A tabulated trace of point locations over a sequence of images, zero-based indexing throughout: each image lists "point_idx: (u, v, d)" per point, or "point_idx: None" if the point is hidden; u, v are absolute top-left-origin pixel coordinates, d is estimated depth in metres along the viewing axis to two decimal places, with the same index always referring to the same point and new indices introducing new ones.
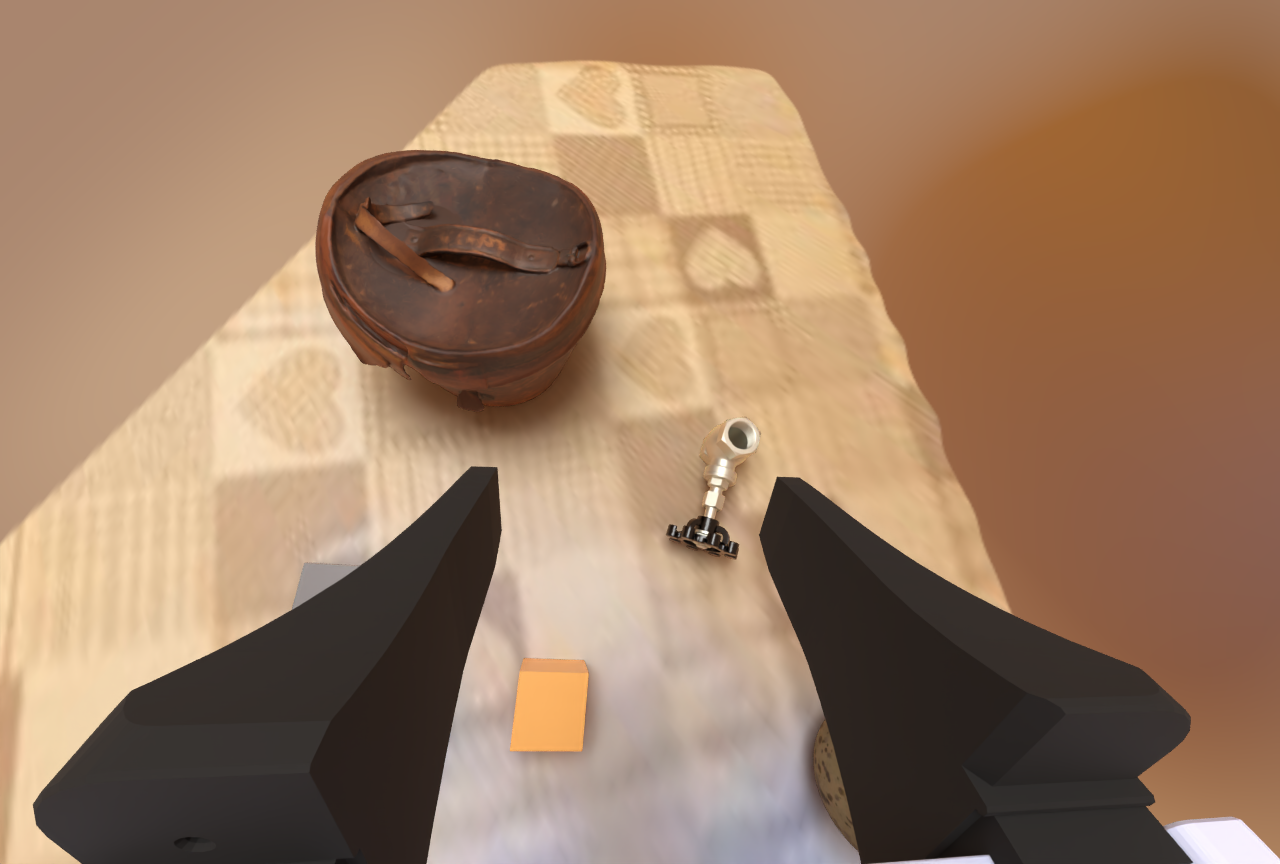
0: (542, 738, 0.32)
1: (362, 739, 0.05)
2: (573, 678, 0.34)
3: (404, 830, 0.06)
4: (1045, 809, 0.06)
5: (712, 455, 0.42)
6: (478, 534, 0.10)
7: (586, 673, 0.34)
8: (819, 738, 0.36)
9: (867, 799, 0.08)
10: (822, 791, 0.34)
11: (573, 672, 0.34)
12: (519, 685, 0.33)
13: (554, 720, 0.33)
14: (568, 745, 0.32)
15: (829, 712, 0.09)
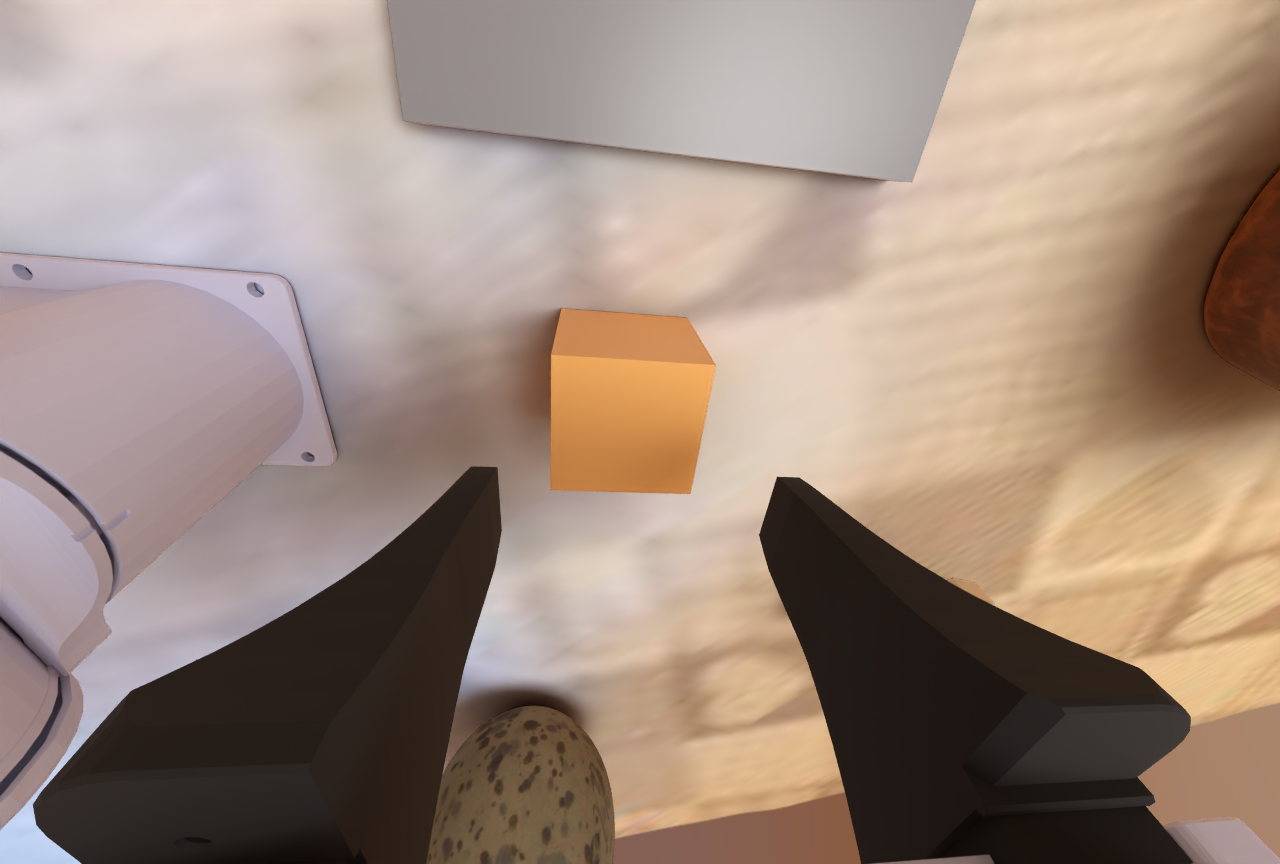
0: (575, 419, 0.15)
1: (362, 739, 0.05)
2: (684, 468, 0.16)
3: (404, 830, 0.06)
4: (1045, 809, 0.06)
5: None
6: (478, 534, 0.10)
7: (689, 489, 0.17)
8: (561, 744, 0.26)
9: (867, 798, 0.08)
10: (501, 762, 0.25)
11: None
12: (685, 366, 0.14)
13: (608, 439, 0.15)
14: (561, 467, 0.15)
15: (829, 711, 0.09)
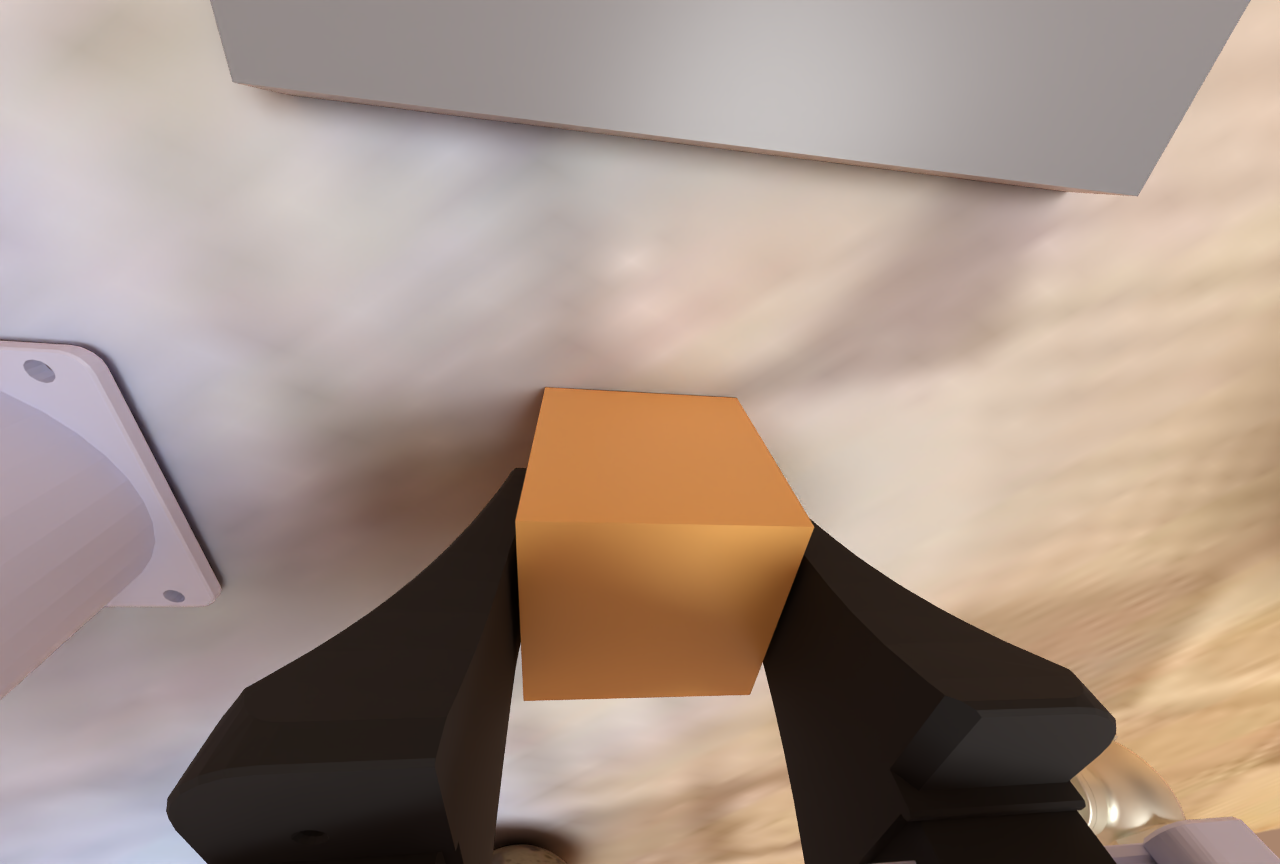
0: (562, 611, 0.08)
1: (462, 735, 0.05)
2: (743, 665, 0.10)
3: (481, 825, 0.06)
4: (971, 813, 0.06)
5: (1112, 786, 0.19)
6: None
7: (748, 687, 0.10)
8: None
9: (811, 802, 0.08)
10: None
11: None
12: (760, 529, 0.08)
13: (620, 635, 0.09)
14: (540, 672, 0.09)
15: (780, 713, 0.09)
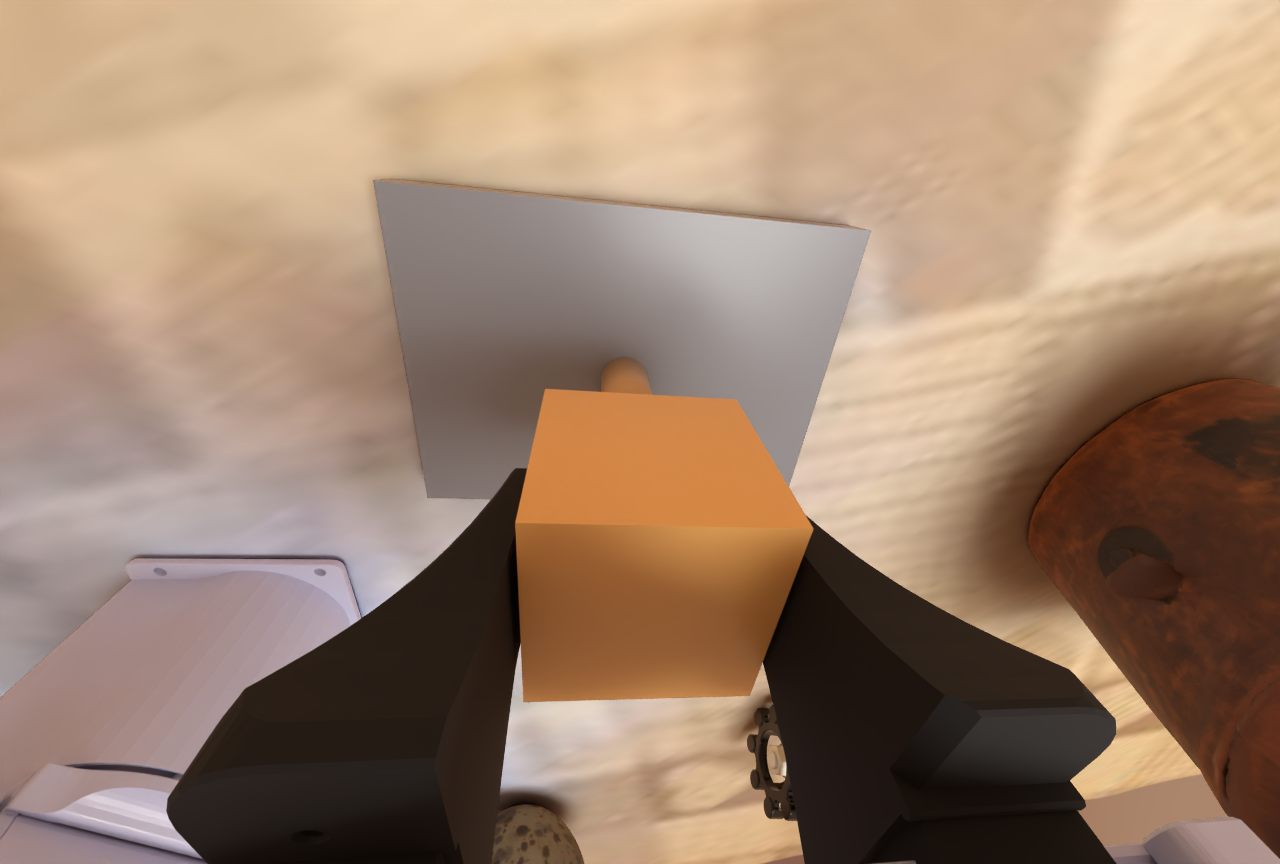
0: (562, 612, 0.08)
1: (462, 735, 0.05)
2: (743, 666, 0.10)
3: (481, 825, 0.06)
4: (971, 813, 0.06)
5: None
6: None
7: (748, 688, 0.10)
8: (546, 848, 0.33)
9: (812, 801, 0.08)
10: None
11: None
12: (760, 531, 0.08)
13: (620, 636, 0.09)
14: (539, 673, 0.09)
15: (780, 713, 0.09)
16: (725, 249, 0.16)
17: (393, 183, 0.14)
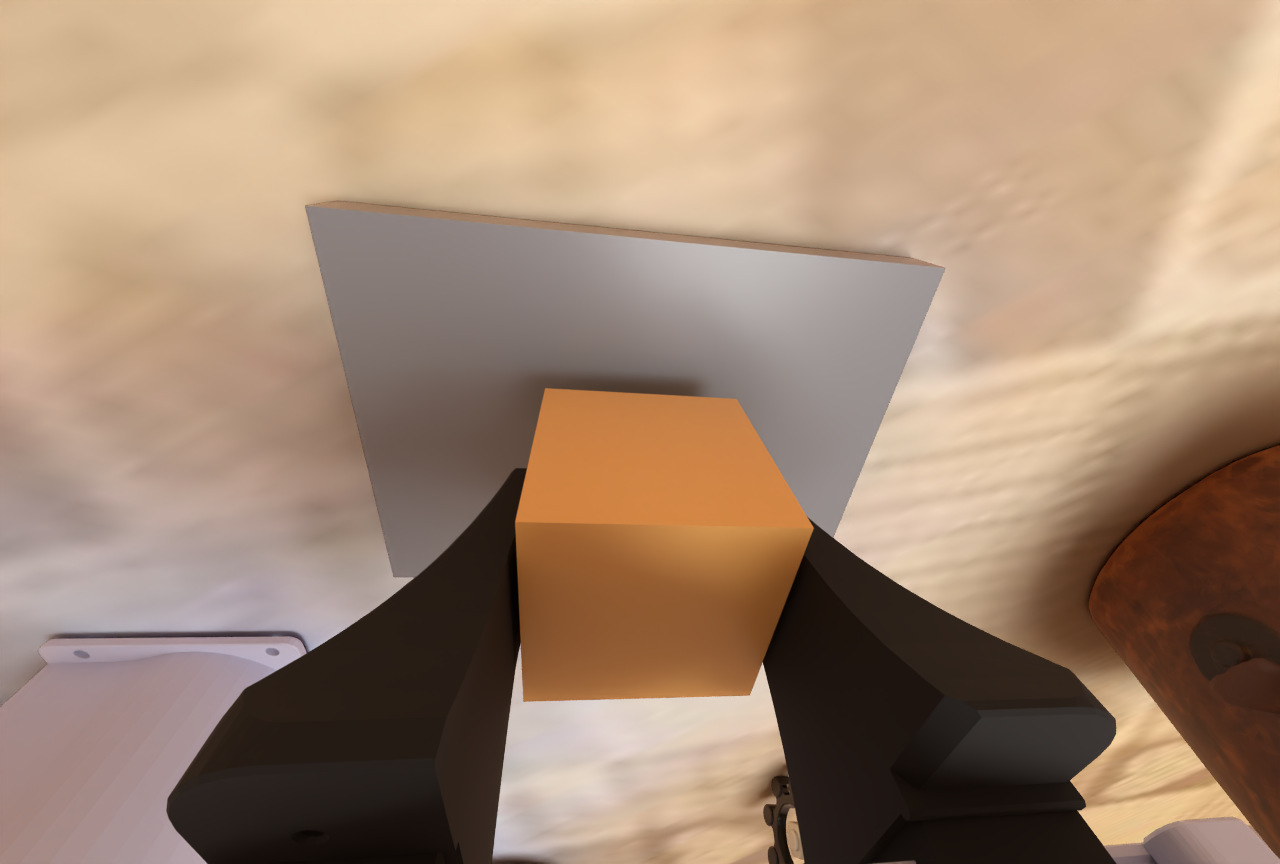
0: (562, 612, 0.08)
1: (462, 735, 0.05)
2: (743, 666, 0.10)
3: (481, 825, 0.06)
4: (971, 814, 0.06)
5: None
6: None
7: (748, 687, 0.10)
8: None
9: (811, 801, 0.08)
10: None
11: None
12: (760, 530, 0.08)
13: (620, 635, 0.09)
14: (539, 673, 0.09)
15: (780, 713, 0.09)
16: (761, 291, 0.12)
17: (331, 209, 0.10)
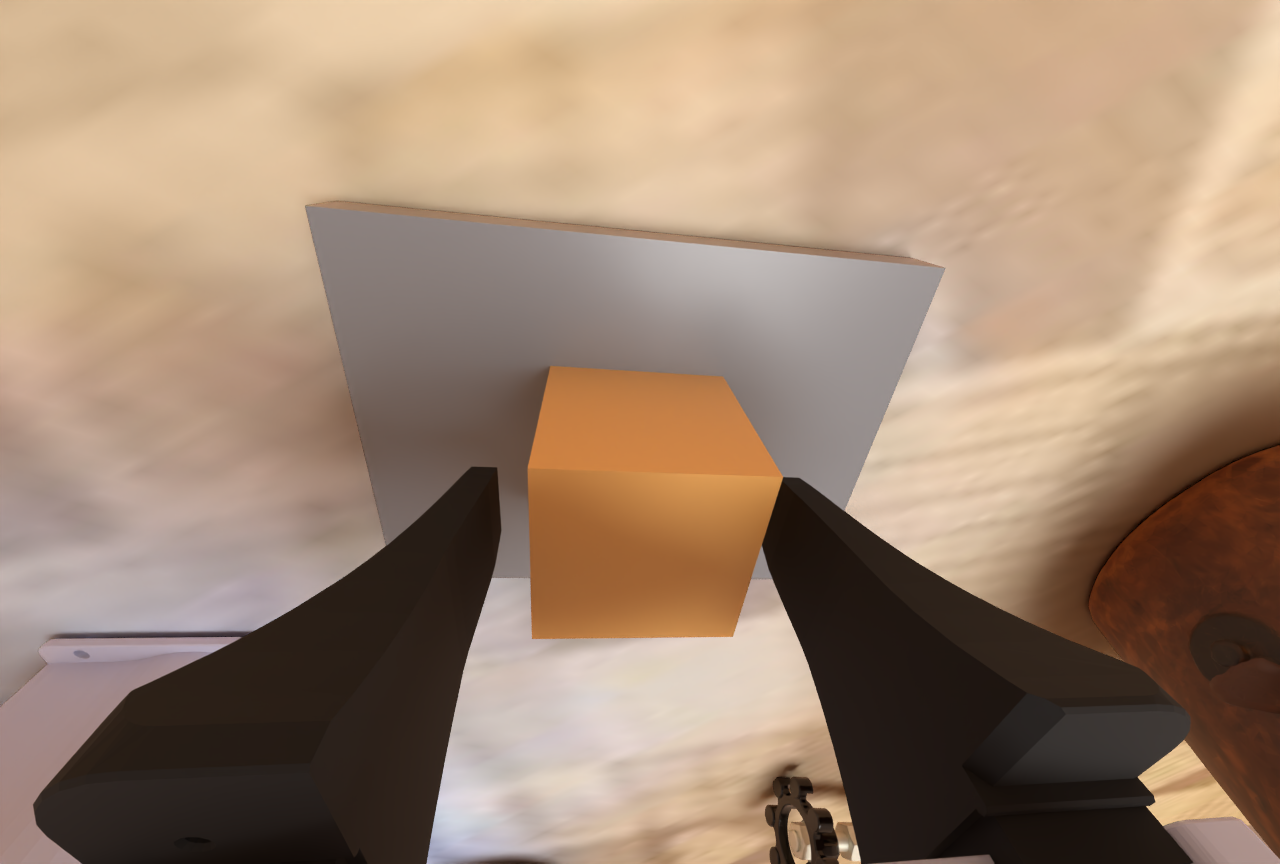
0: (567, 552, 0.10)
1: (362, 739, 0.05)
2: (726, 607, 0.11)
3: (404, 830, 0.06)
4: (1045, 809, 0.06)
5: None
6: (478, 534, 0.10)
7: (731, 629, 0.12)
8: None
9: (868, 798, 0.08)
10: None
11: None
12: (737, 479, 0.09)
13: (617, 576, 0.10)
14: (546, 610, 0.11)
15: (829, 711, 0.09)
16: (761, 291, 0.12)
17: (331, 209, 0.10)
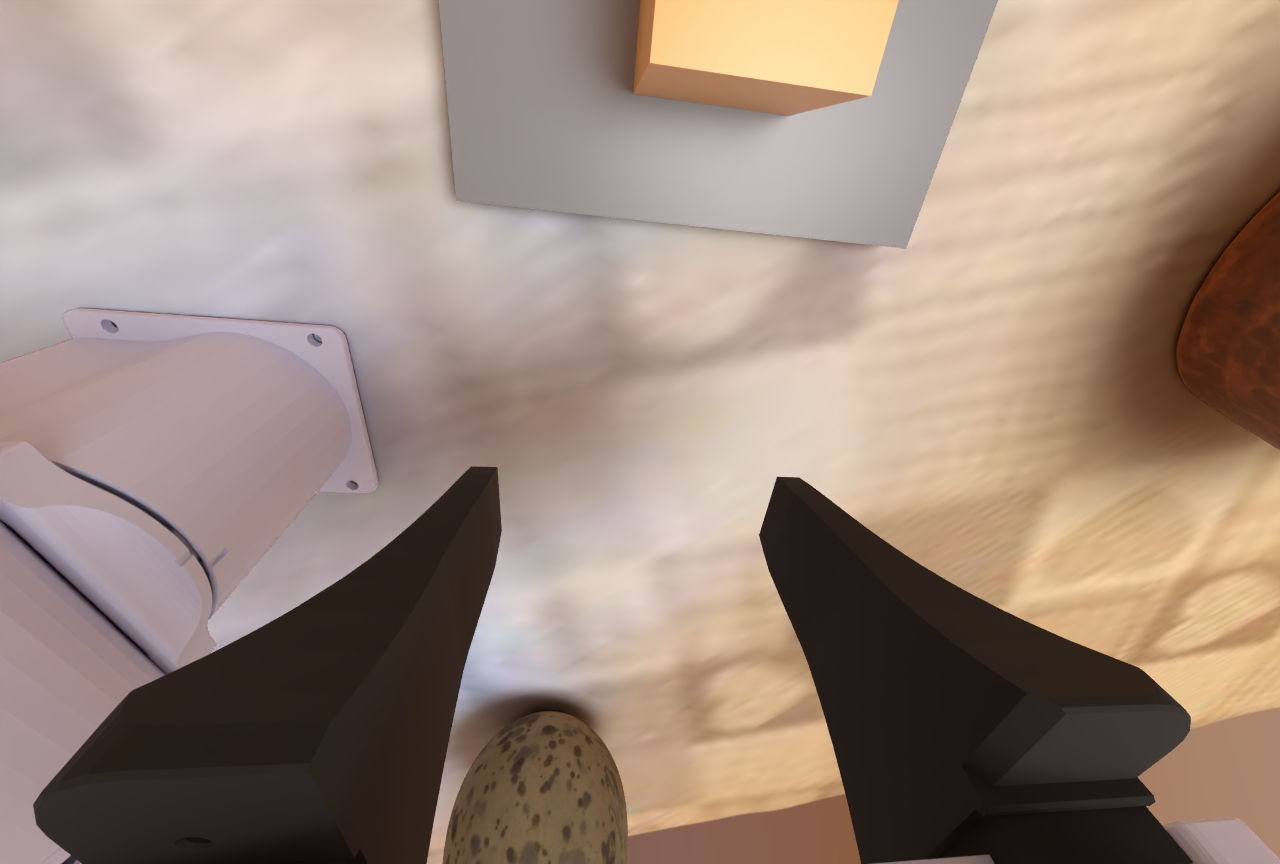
0: None
1: (362, 739, 0.05)
2: (872, 30, 0.10)
3: (404, 830, 0.06)
4: (1045, 809, 0.06)
5: None
6: (478, 534, 0.10)
7: (869, 87, 0.10)
8: (578, 748, 0.28)
9: (867, 798, 0.08)
10: (522, 765, 0.26)
11: (885, 32, 0.10)
12: None
13: None
14: (673, 1, 0.09)
15: (829, 711, 0.09)
16: None
17: None
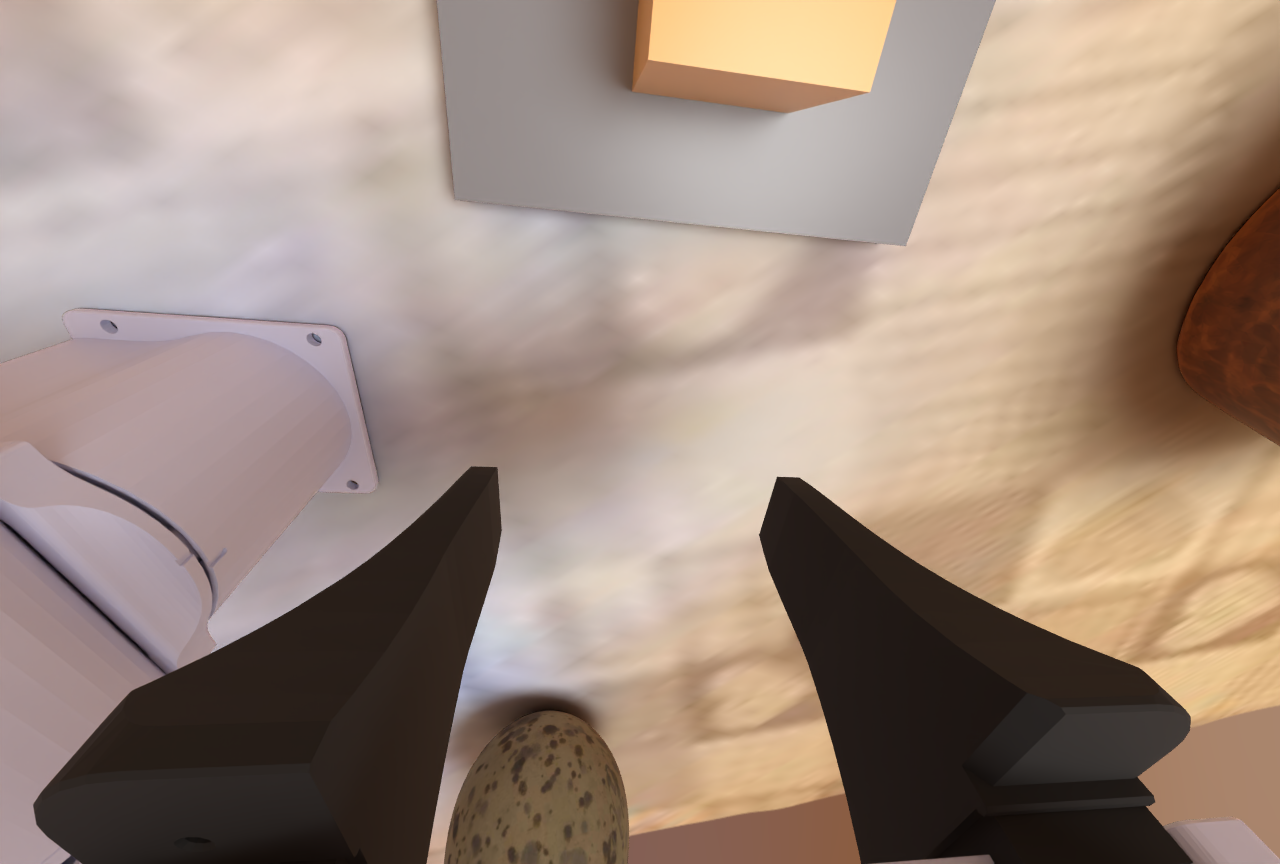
0: None
1: (362, 739, 0.05)
2: (870, 26, 0.10)
3: (404, 830, 0.06)
4: (1044, 808, 0.06)
5: None
6: (478, 534, 0.10)
7: (868, 84, 0.10)
8: (579, 747, 0.28)
9: (867, 798, 0.08)
10: (523, 765, 0.26)
11: None
12: None
13: None
14: None
15: (829, 711, 0.09)
16: None
17: None
